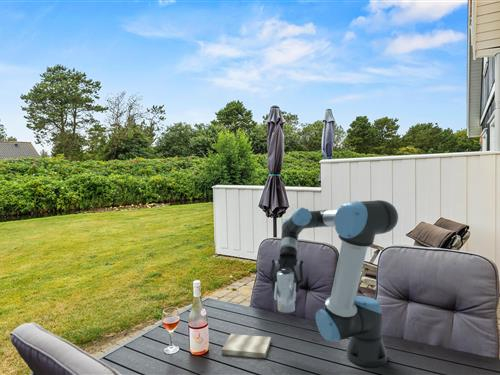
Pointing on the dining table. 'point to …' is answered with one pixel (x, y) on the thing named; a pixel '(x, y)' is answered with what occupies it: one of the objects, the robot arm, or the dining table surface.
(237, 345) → the birch board
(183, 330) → the dining table surface
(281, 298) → the steel bottle
